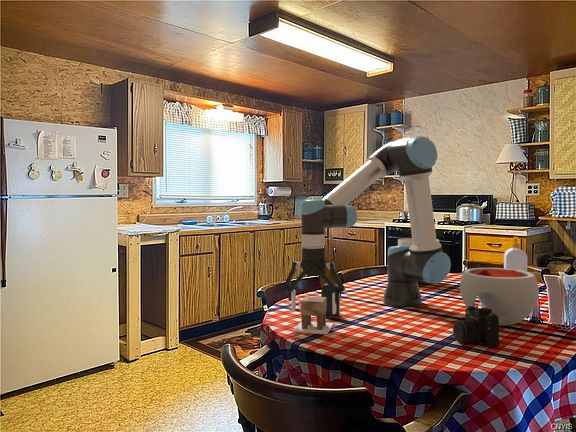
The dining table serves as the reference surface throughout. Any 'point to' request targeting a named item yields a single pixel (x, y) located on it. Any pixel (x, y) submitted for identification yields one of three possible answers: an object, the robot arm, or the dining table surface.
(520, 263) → the soap bottle
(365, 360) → the dining table surface
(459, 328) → the camera
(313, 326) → the mat
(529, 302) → the pot
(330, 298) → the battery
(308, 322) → the stool
